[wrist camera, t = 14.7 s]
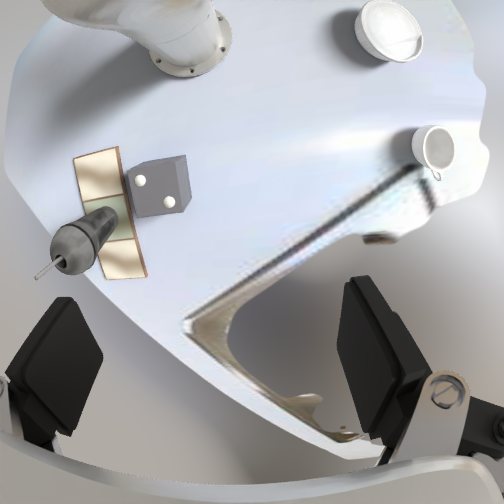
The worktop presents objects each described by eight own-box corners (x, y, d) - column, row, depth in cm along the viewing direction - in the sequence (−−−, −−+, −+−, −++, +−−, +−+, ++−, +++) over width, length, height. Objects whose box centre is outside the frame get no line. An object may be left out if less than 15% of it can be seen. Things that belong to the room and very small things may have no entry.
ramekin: (393, 78, 35) (410, 75, 30) (337, 39, 32) (348, 31, 28) (415, 35, 30) (431, 30, 26) (363, -3, 28) (375, -14, 23)
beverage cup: (125, 240, 46) (70, 311, 28) (90, 234, 45) (28, 298, 27) (126, 201, 42) (61, 259, 25) (89, 196, 42) (16, 248, 24)
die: (143, 162, 41) (126, 170, 34) (185, 155, 41) (174, 162, 34) (151, 203, 44) (136, 218, 38) (191, 197, 44) (183, 212, 37)
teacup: (400, 128, 39) (417, 131, 34) (433, 119, 38) (451, 122, 33) (413, 181, 43) (429, 190, 38) (443, 170, 42) (460, 178, 37)
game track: (75, 157, 39) (72, 158, 38) (118, 146, 39) (115, 146, 38) (107, 277, 50) (106, 280, 49) (147, 275, 50) (146, 278, 49)
